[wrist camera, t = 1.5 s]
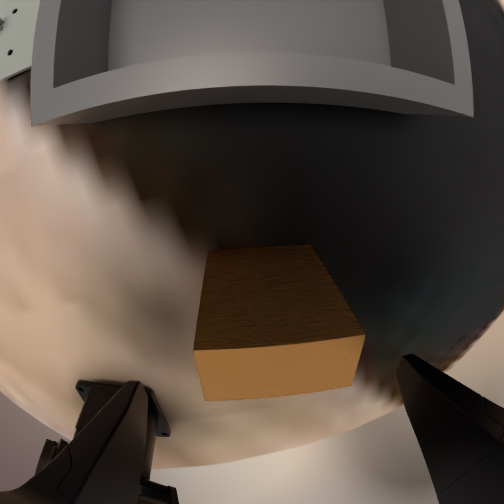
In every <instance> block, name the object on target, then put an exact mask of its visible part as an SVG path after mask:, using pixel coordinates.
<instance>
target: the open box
mask: <svg viewBox="0 0 504 504" xmlns="http://www.w3.org/2000/svg"><path fill="white" fill-rule="evenodd" d="M234 103H310V104H327V105H340V106H350V107H360V108H368V109H376V110H383V111H389V112H396V113H402V114H429V115H451V116H465V117H474V116H473V89H472V76H471V66H470V58H469V50H468V44H467V38H466V32H465V27H464V22H463V17H462V13H461V9H460V5H459V1H458V0H40V4H39V10H38V15H37V21H36V27H35V35H34V43H33V53H32V66H31V126H42V125H55V124H75V123H96V122H101V121H105V120H110V119H115V118H119V117H125V116H130V115H135V114H141V113H147V112H154V111H160V110H168V109H175V108H184V107H193V106H204V105H217V104H234Z"/></svg>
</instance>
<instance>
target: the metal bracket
mask: <svg viewBox="0 0 504 504" xmlns="http://www.w3.org/2000/svg"><path fill="white" fill-rule="evenodd" d="M39 4H40V0H0V80H1V81H4V80H6V79H8V78H10V77H12V76H14V75H17V74H19V73H21V72H23V71H26V70H28V69H30V68H31V66H32V53H33V43H34V35H35V27H36V21H37V15H38V10H39ZM17 9H18V10H17ZM15 10H17V12H16V13H15V14H13V12H14V11H15ZM11 50H13V53H12V54H11V55H9V52H10V51H11Z"/></svg>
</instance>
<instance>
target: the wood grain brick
mask: <svg viewBox="0 0 504 504" xmlns="http://www.w3.org/2000/svg"><path fill="white" fill-rule="evenodd" d="M365 335H366V334H365V332H364V331H363V329H362V327H361V326H360V324H359V322H358V320H357V319H356V317H355V315H354V314H353V312H352V310H351V309H350V307H349V305H348V304H347V302H346V300H345V299H344V297H343V295H342V294H341V292H340V291H339V289H338V287H337V286H336V284H335V282H334V281H333V279H332V278H331V276H330V274H329V273H328V271H327V270H326V268H325V267H324V265H323V263H322V262H321V260H320V259H319V257H318V256H317V254H316V252H315V251H314V249H313V248H312V246H311V245H310V244H305V245H288V246H270V247H253V248H236V249H219V250H208V255H207V261H206V267H205V274H204V280H203V286H202V293H201V299H200V306H199V313H198V319H197V326H196V334H195V341H194V349H193V352H194V356H195V361H196V365H197V369H198V374H199V378H200V382H201V386H202V390H203V394H204V398H205V401H220V400H242V399H257V398H269V397H279V396H288V395H296V394H304V393H311V392H318V391H324V390H330V389H336V388H341V387H347V386H351V385H352V382H353V379H354V375H355V372H356V369H357V365H358V362H359V358H360V354H361V351H362V347H363V343H364V339H365Z"/></svg>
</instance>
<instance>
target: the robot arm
mask: <svg viewBox="0 0 504 504" xmlns="http://www.w3.org/2000/svg"><path fill="white" fill-rule="evenodd" d="M396 379H397V382H398V386H399V389H400V392H401V396H402V399H403V403H404V406H405V409H406V412H407V415H408V417H409V419H410V422H411V425H412V427H413V430H414V432H415V435H416V437H417V440H418V443H419V445H420V448H421V451H422V453H423V456H424V459H425V461H426V464H427V467H428V470H429V473H430V476H431V479H432V482H433V485H434V488H435V491H436V494H437V498H438V501H439V504H504V408H502V407H500V406H499V405H497V404H495V403H493V402H491V401H490V400H488V399H486V398H485V397H482V396H481V395H480V394H478V393H476V392H475V391H473V390H471V389H470V388H468V387H466V386H465V385H463V384H462V383H460V382H458V381H457V380H455V379H453V378H452V377H450V376H448V375H447V374H445V373H444V372H442V371H440V370H439V369H437V368H435V367H434V366H432V365H430V364H429V363H427V362H425V361H424V360H422V359H421V358H419V357H417V356H416V355H414V354H408V355H404V356H402V357H401V359H400V362H399V364H398V367H397V369H396ZM75 388H76V390H77V391H78V393H79V394H80V396H81V397H82V399H83V401H84V405H83V407H82V410H81V413H80V415H79V418H78V421H77V423H76V432H75V434H74V437H73V440H72V441H71V442H70V443H69V444H68V442H66V441H64V440H63V439H60V440H59V441H58V443H57V442H56V441H51V440H48V439H47V440H46V441H45V444H44V447H43V450H42V452H41V455H40V458H39V461H38V464H37V468H36V472H35V475H34V476H33V477H32V478H31V479H30V480H28V481H27V482H26V483H25V484H23V485H22V486H21V487H19V488H17V489H14V490H10V491H3V492H0V504H179V501H178V497H177V490H176V488H175V487H171V486H164V485H161V484H158V483H155V482H152V481H149V480H150V472H151V465H152V458H153V451H154V445H155V438H156V436H160V437H169V436H170V433H171V431H170V429H169V427H168V424H167V422H166V420H165V418H164V416H163V414H162V412H161V410H160V407H159V405H158V403H157V401H156V399H155V396H154V394H153V392H152V391H151V390H150V389H148V388H144V387H143V385H142V383H141V382H140V381H134V380H130V381H128V382H127V383H126V384H125V385H124V386H115V385H105V384H96V383H88V382H80V381H79V382H77V384H76V386H75Z"/></svg>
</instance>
